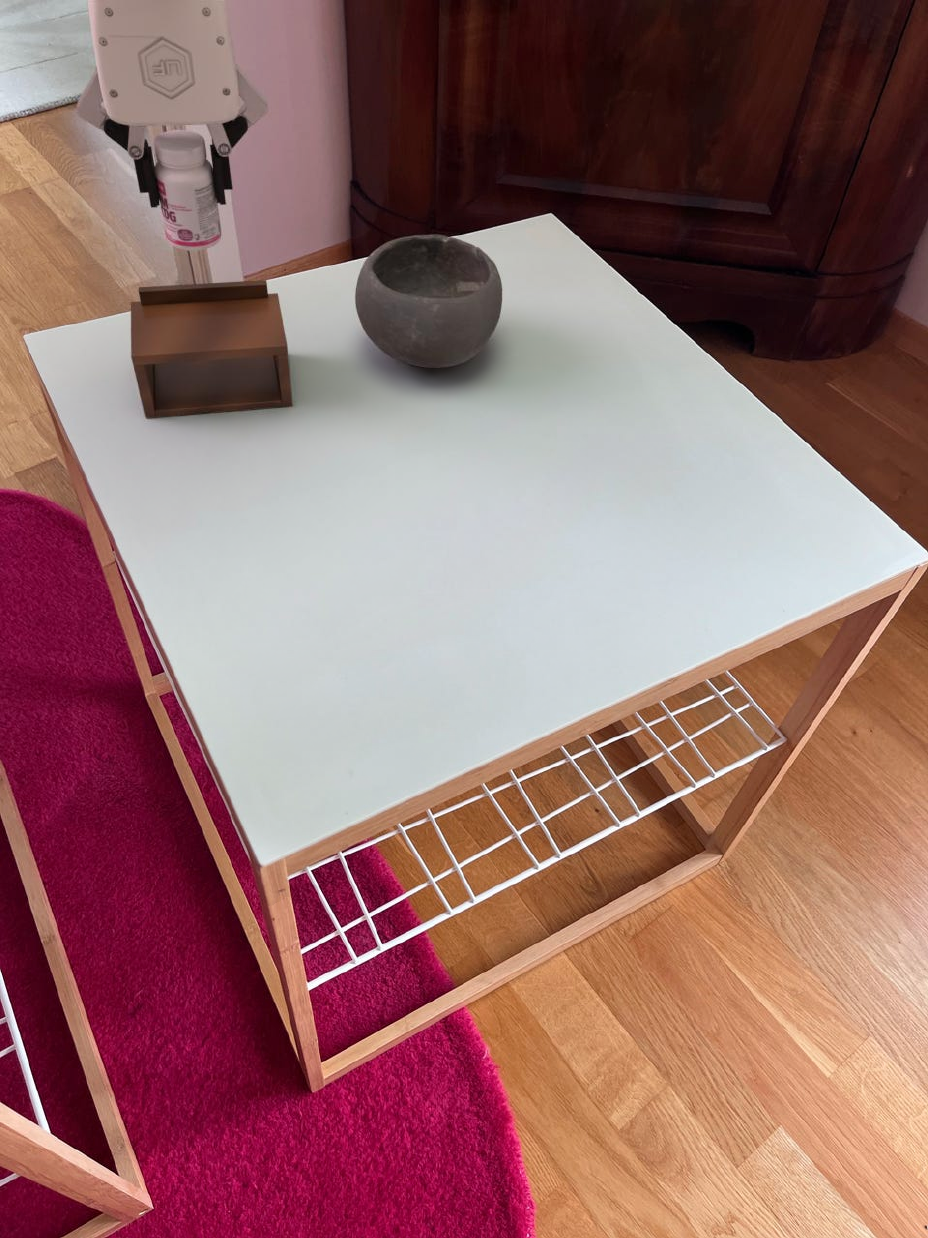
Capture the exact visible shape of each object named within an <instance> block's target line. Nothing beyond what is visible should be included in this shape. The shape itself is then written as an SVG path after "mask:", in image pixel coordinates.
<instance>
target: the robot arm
mask: <svg viewBox="0 0 928 1238" xmlns="http://www.w3.org/2000/svg"><path fill="white" fill-rule="evenodd" d="M87 9H88V10H87V11H88V18H89V27H90V32H91V39H92V40H91V41H92V46H93V47H92V48H93V53H94V58H95V65H96V67H95V69H94V71H93V73H92V75H91V77H90V79H89V80H88V81H87V84H86V86H85V88H84V89H83V91H82V93H81V96H80V97H79V99H78V101H77V106H76V113H77V114H78V117H80V118H81V119H83V120H84V121H86V122H87V123H89V124H90V125H91V126H93V127H95V128H97V129H98V130H101V131H102V132H104V133H105V135H106V136H107V137H108V138H110V139H111V140H112V141H113V142H115V143H116V144H117V145H118V146H120V147H121V148H122V149H123V150H125V151H126V152H127V154H128V156H129V157H130V158H131V159H133V163H134V168H135V175H136V179H137V184H138V190H139V194H145V193H146V194H148V199H149V203H150V208H153V209H154V208H158V206H160V207H161V205H160V200H159V194H158V189H157V184H156V178H155V172H154V169H155V165H156V164H155V161H154V155H153V149H152V146H150V145H149V142H148V140H147V139H146V131H147V127H162V126H164V127H165V126H200V125H201V126H202V125H206V127H207V130H208V132H209V136H210V137H211V144H209V149H210V158H211V165H212V168H213V173H214V181H215V188H216V196H217V203H218V204H219V205H220V206H224V205H227V200H226V192H225V191H230V190H234V189H233V180H232V172H231V163H230V155H232V151H233V148H235V146H236V145H237V144H238V142H240V141H241V139H242V138H243V137H244V135H246V133H247V132H248V131H249V128H250V127H252V126H253V125H255V124H256V123H257V122H258V121H259V120H260V119H262V118H263V117H264V116H265V115H266V114H267V112H268V111H269V107H268V103H267V99H266V98H265V97H264V95H263V94H262V92H260V90H259V89H258V88H257V87H256V85H255V84H254V83H253V82H252V81H251V80H250V78H249V77H248V76H247V75H246V74H245V73H244V72H243V70H242V68H240V66H239V65H238V64H237V63H236V58H235V51H234V44H233V38H232V31H231V26H230V25H231V24H230V19H229V15H228V9H227V4H226V0H87ZM240 99H241V100H242V101H243V102H244V103H243V105H241V106H240ZM102 103H103V105H104V107H103V106H102Z"/></svg>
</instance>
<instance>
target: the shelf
mask: <svg viewBox="0 0 928 1238" xmlns="http://www.w3.org/2000/svg"><path fill="white" fill-rule="evenodd" d="M138 295H139V300H138V301H130V358H131V361H132V365H133V366H132V367H133V370H134V374H135V379H136V382H137V387H138V391H139V396H140V401H141V404H142V408H143V413H144V417H145V418H146V419H153V418H155V419H156V418H165V417H166V418H167V417H177V416H178V417H180V416H189V415H202V414H203V415H204V414H213V413H214V414H216V413H226V412H227V413H229V412H237V411H238V412H240V411H252V410H264V409H265V410H266V409H276V408H287V407H288V408H289V407H293V395H292V385H291V384H292V381H291V373H290V360H289V347H288V342H287V335H286V330H285V325H284V319H283V314H282V309H281V304H280V298H279V294H278V293H277V292H276V293H268V283H267V280H266V279H261V280H259V279H258V280H243V281H225V282H208V283H191V284H190V283H189V284H174V285H155V286H153V285H152V286H139V287H138Z"/></svg>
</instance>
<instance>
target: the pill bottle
mask: <svg viewBox="0 0 928 1238" xmlns="http://www.w3.org/2000/svg"><path fill="white" fill-rule="evenodd" d="M153 145H154V154H155V158H156V161H157V162H156V163H155V164H154V165H155V169H154V172H155V178H156V184H157V189H158V194H159V202H160V210H161V217H162V223H163V228H164V232H165V238H166V240H167V242H168V243H169V244H170V245H171V246H172V247H174V248H177V249H179V250H181V251H187V252H199V251H204V250H207V249H210V248H212V247H214V246H216V245H217V244H218V243H219V242H220V241H221V239H222V225H221V219H220V218H221V217H220V209H219V203H217V196H216V188H215V181H214V173H213V166H212V163H211V162H210V161H209V160H208V159H207V158H208V157H207V150H206V149H207V148H206V143H205V138H204V137H203V136H202V135H201V134H200V133H197V132H196V131H192V130H186V129H171V130H167V131H164V132H161V133H159V134H158V135H156V136H155V138H154V140H153Z"/></svg>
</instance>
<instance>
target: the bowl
mask: <svg viewBox="0 0 928 1238" xmlns="http://www.w3.org/2000/svg"><path fill="white" fill-rule="evenodd" d="M361 266H362V267H361V268H360V271H359V274H358V277H357V281H356V284H355V295H354V304H355V310H356V314H357V317H358V319H359V322H360V324H361V327H362V329H363V331H364V332H365V334H366V336H367V337H368V338H369V340H371V341H372V342H373V344H374V345H375V346H376V347H377V348H378V349H379V350H380V351H381V352H382V353H384V354H385V355H387V356H388V357H389V358H392V359H394V360H396V361H398V362H400V363H403V364H406V365H410V366H415V367H421V368H425V369H426V368H427V369H428V368H429V369H430V368H431V369H432V368H435V369H438V368H450V367H455V366H457V365H461V364H464V363H465V362H467V361H468V360H470V359H472V358H474V357H475V356H476V355H478V354H479V353H480V352H481V351H482V350H483V349H484V348H485V346H487V344H488V343H489V341H490V339H491V337H492V335H493V334H494V332H495V329H496V328H497V326H498V323H499V321H500V318H501V314H502V307H503V305H502V304H503V285H502V280H501V279H502V278H501V275H500V273H499V270H498V267H497V265H496V264H495V262H494V260H493V259H492V258H491V257H490V256H489V255H488V254H487V253H486V252H485V251H483V250H482V248H480V247H479V246H475V245H474V244H472V243H469V242H467V241H464V240H462V239H459V238H456V237H453V236H447V235H444V234H420V235H419V234H417V235H409V236H403V237H399V238H395V239H392V240H390V241H387V242H385V243H384V244H382V245H380V246H379V247H378V248H376V249H375V250H374V251H373V252H372V253H370V254H369V255H368V257H367V258H366V259H365V261H364V262H363V265H361Z"/></svg>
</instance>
